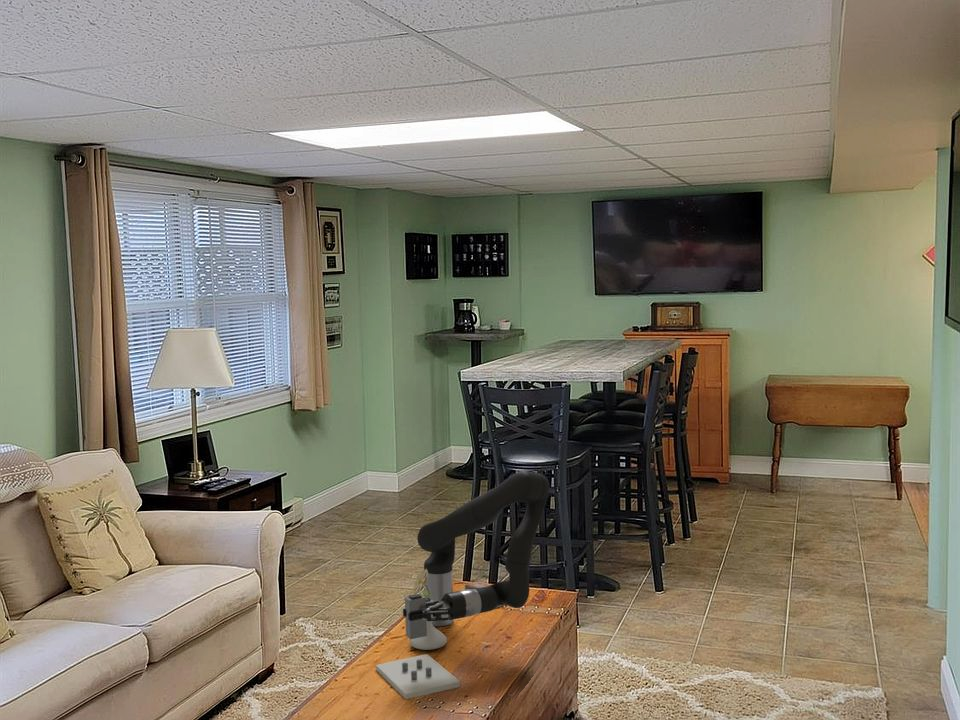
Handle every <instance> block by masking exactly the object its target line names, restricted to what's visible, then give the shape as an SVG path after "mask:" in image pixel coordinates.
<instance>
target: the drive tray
mask: <svg viewBox="0 0 960 720" xmlns="http://www.w3.org/2000/svg"><path fill="white" fill-rule="evenodd" d="M375 670H377V671H378V672H379V673H378V672H377V671H376V672H377V673H378V674H379V675H380V676H381V677H383V678H384V679H385V681H386V682H388V683H389V685H391V686H392V687H393V688H394V690H396V692H398V693H399V694H400V695H401V696H402V698H404V699H405V700H410V699H414V698H417V697H418V698H419V697H423V696H426V695H430V694H431V695H432V694H435V693H438V692H443V691H447V690H448V691H449V690H453V689H456V688H460V687H461V682H460V680H459V679H458V678H456V677H455V676H454V675H453V674H451V673H450V672H449V671H448V670H446V668H445V667H443V666H442V665H441V664H439V663H438V662H437V661H436V660H435V659H433V658H432V657H431V656H430V655H429V654H428V653H427V654H421V655H417V656H411V657H407V658H402V659H397V660H392V661H388V662H384V663H379V664H375ZM422 695H423V696H422ZM413 697H414V698H413ZM409 698H410V699H409Z"/></svg>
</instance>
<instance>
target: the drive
mask: <svg viewBox="0 0 960 720" xmlns="http://www.w3.org/2000/svg"><path fill="white" fill-rule="evenodd" d="M404 608H405V636H406V637H407V638H408V639H409V640H410V639H415V638H420V637H424V636H427V619H426V620H423V619H419V620H414V621H409V620H408V613H410V612H415V611H420V610H421V612H422V610H424V609H426V597H425V596H424V595H423V593H417V594H416V593H414V594H409V595H408V596H405V597H404Z"/></svg>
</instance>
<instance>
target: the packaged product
mask: <svg viewBox="0 0 960 720" xmlns="http://www.w3.org/2000/svg"><path fill="white" fill-rule="evenodd" d="M488 586H490V584H486V583H484V582H482V581H472V582H469V583H466V584H464V590H466V589H476V588H481V587H488ZM501 606H502V607H505V606H504V605H499V606H497V607H496V608H495V609H498V607H499V608H502V607H501Z"/></svg>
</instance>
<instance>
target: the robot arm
mask: <svg viewBox="0 0 960 720" xmlns="http://www.w3.org/2000/svg"><path fill="white" fill-rule="evenodd" d="M550 490H551V489H550V481H549V479H548V478H547V477H546V476H545V475H544V474H542V473H538V472H533V471H530V470H520V471H517V472H515V473H514V474H512V475H511V476H509V477H508V478H506V479H505V480H504V481H502V482H501V483H500V484H498V485H497V486H496V487H494V488H491V489H489V490H487V491H486V492H484V493H482V494H481V495H478V496H477V497H475V498H472V499H471V500H469V501H467V502H466V503H464V504H463V505H461V506H459V507H458V508H456V509H454V511H451V512H450V513H449V514H447V515H446V516H444V517H442V518H440V519H437V520H435V521H431V522H429V523H426V524H424V525H423V526H421V528H420V529H419V531H418V534H417V544H418V546H419V547H420V548H421V549H422V550H423V551H425V552H428V553H429V552H430V554H429V556H428V557H427V558H426V560H425V561H424V563H423V569H424V570H426V569H427V570H428V580H427V583H426V585H427V587H428V589H429V593H430V595H431V597H430V598H426V609H424V610H422V612H421V610H420V611H415V612H410V613H408V620H409V621H414V620H419V619H423V620H426V619H427V621H432V625H433V626H434V627H445V626H449V625H451V624H453V623H454V620H457V619H458V620H459V619H462V618H463V619H464V618H468V617H472V616H475V615H479V614H483V613H487V612H488V613H489V612H491V611H494V610H495V609H497V608H496V607H497V606H499V605H505V606H508V607H510V608H513V609H520V608H522V607H524V606H525V604H526V603H527V602H528V600H529V594H530V574H529V573H530V572H529V569H530V564H531V558H532V551H533V547H534V541H535V537H536V534H537V531H538V529H539V526H540V523H541V520H542V517H543V512H544V509H545V507H546V504H547V501H548V498H549V493H550ZM520 502H521V503H526V505H525V506H526V507H525V513H524V515H523V518H522V520H521V522H520V524H519V525H518V527H517V528H516V530H515V531H514V533H513V535H512V537H511V539H510V541H509V543H508V547H507V554H506V559H505V570H506V571H507V572H508V574H509V575H508V576H509V578H508V579H509V580H502V581H501V580H500V581H497V582H495V583H492V584H489V586H488V587H481V588H476V589H466V590H465V589H461V590H456V591H454V590H453V589H454V582H453V576H454V575H453V564H454V562H455V558H456V557H455V556H456V539H457V538H459V537H461V536H462V537H463V536H465V535H468V534H471V533H475V532H477V531H479V530H482V529H484V528H486V527H487V526H489V525H491V524H492V523H494V522H496V521H497V520H498V518H499V516H500V515H501V513H502V511H503V510H504V509H505V508H506V507H509V506H511V505H513V504H516V503H520ZM424 588H425V589H426V590H427V588H426V586H424ZM424 588H423V589H424ZM427 591H428V590H427ZM430 600H433V601H430ZM402 616H403V617H405V607H404V608H403V609H402Z"/></svg>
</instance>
